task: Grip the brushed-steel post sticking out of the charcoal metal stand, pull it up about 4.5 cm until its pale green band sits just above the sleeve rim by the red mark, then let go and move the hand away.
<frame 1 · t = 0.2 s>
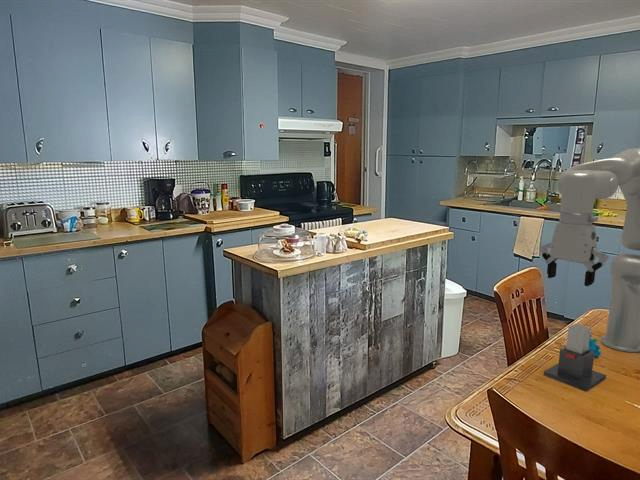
hand: (569, 281, 120), 30 cm above the table, tool pointing down, fingers open, 9 cm apart
stand: (574, 376, 130), on the table
post: (577, 350, 128), point 8 cm above the table, slide at 0.0 cm
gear: (587, 353, 145), on the table
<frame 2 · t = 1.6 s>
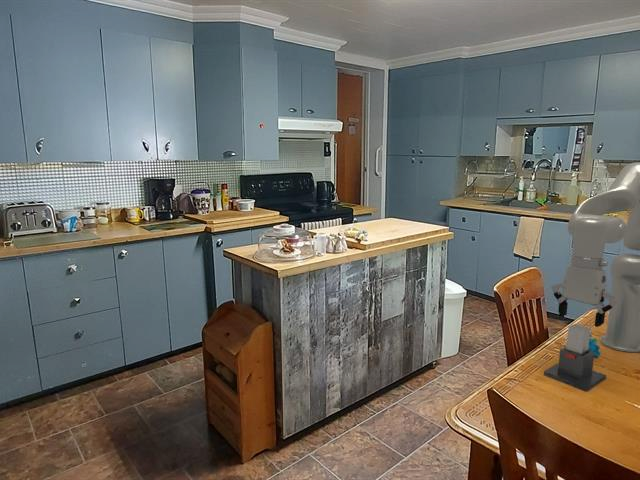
hand: (579, 320, 126), 18 cm above the table, tool pointing down, fingers open, 9 cm apart
nothing on the table moved.
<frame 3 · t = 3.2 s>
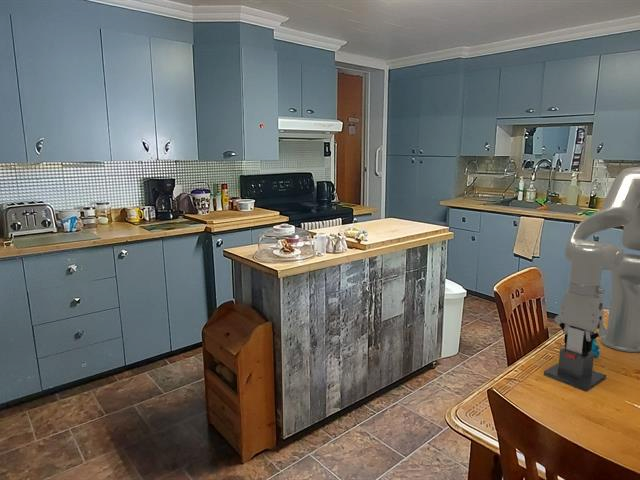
hand: (577, 348, 128), 9 cm above the table, tool pointing down, fingers closed on post, 4 cm apart
post: (577, 350, 128), point 8 cm above the table, slide at 0.0 cm, touching gripper
everything else where it was.
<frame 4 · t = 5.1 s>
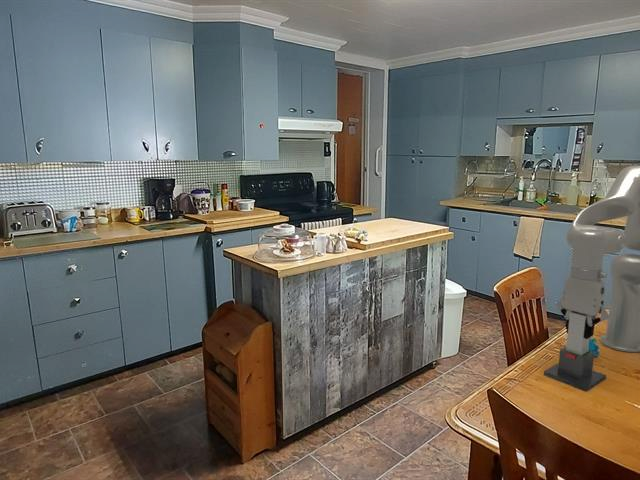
hand: (578, 334, 127), 13 cm above the table, tool pointing down, fingers closed on post, 4 cm apart
post: (578, 335, 127), point 13 cm above the table, slide at 4.5 cm, touching gripper
everything else where it was.
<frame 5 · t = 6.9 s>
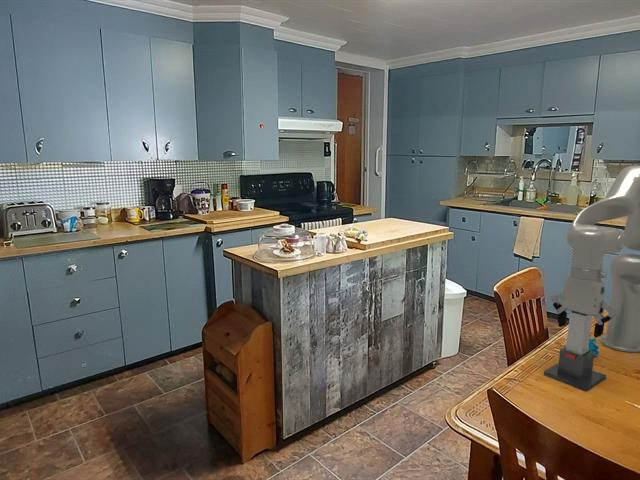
hand: (579, 331, 127), 14 cm above the table, tool pointing down, fingers open, 9 cm apart
post: (578, 335, 127), point 13 cm above the table, slide at 4.5 cm
everything else where it was.
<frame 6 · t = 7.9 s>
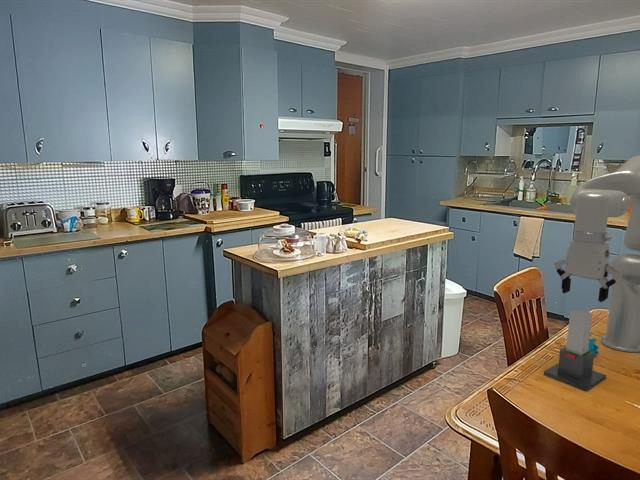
hand: (583, 296, 125), 25 cm above the table, tool pointing down, fingers open, 9 cm apart
nothing on the table moved.
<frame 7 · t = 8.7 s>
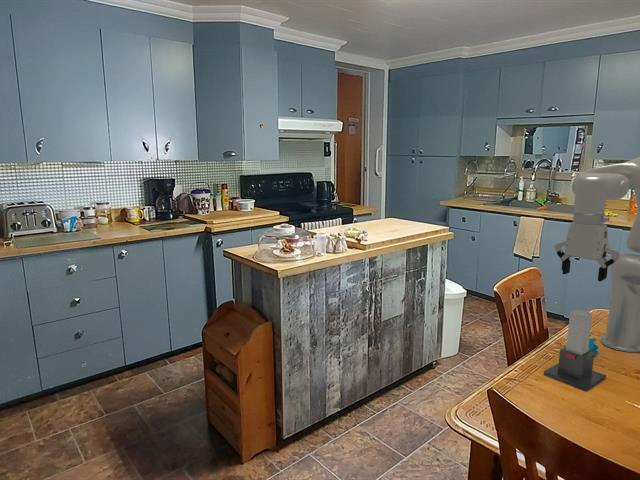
hand: (583, 276, 130), 29 cm above the table, tool pointing down, fingers open, 9 cm apart
nothing on the table moved.
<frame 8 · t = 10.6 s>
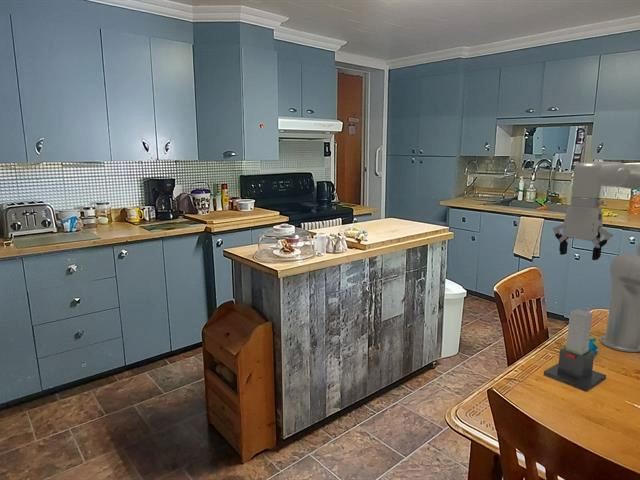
hand: (578, 256, 140), 32 cm above the table, tool pointing down, fingers open, 9 cm apart
at the end: post slide at 4.5 cm; the gripper is holding nothing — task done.
